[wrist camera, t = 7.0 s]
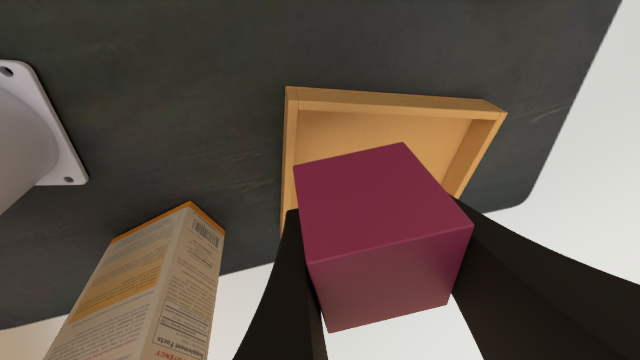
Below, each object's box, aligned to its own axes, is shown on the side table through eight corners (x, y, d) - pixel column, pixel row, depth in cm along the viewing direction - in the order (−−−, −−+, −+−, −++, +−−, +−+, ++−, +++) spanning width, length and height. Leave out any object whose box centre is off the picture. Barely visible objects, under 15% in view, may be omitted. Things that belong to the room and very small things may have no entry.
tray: (279, 225, 24) (281, 248, 22) (285, 85, 17) (288, 100, 15) (422, 219, 28) (435, 238, 26) (483, 99, 20) (508, 112, 18)
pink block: (311, 237, 12) (328, 334, 9) (292, 164, 10) (305, 264, 6) (398, 217, 13) (447, 305, 9) (403, 140, 10) (476, 224, 6)
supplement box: (156, 264, 25) (80, 462, 15) (111, 236, 22) (-24, 461, 12) (229, 230, 24) (202, 419, 14) (192, 197, 21) (123, 406, 11)
